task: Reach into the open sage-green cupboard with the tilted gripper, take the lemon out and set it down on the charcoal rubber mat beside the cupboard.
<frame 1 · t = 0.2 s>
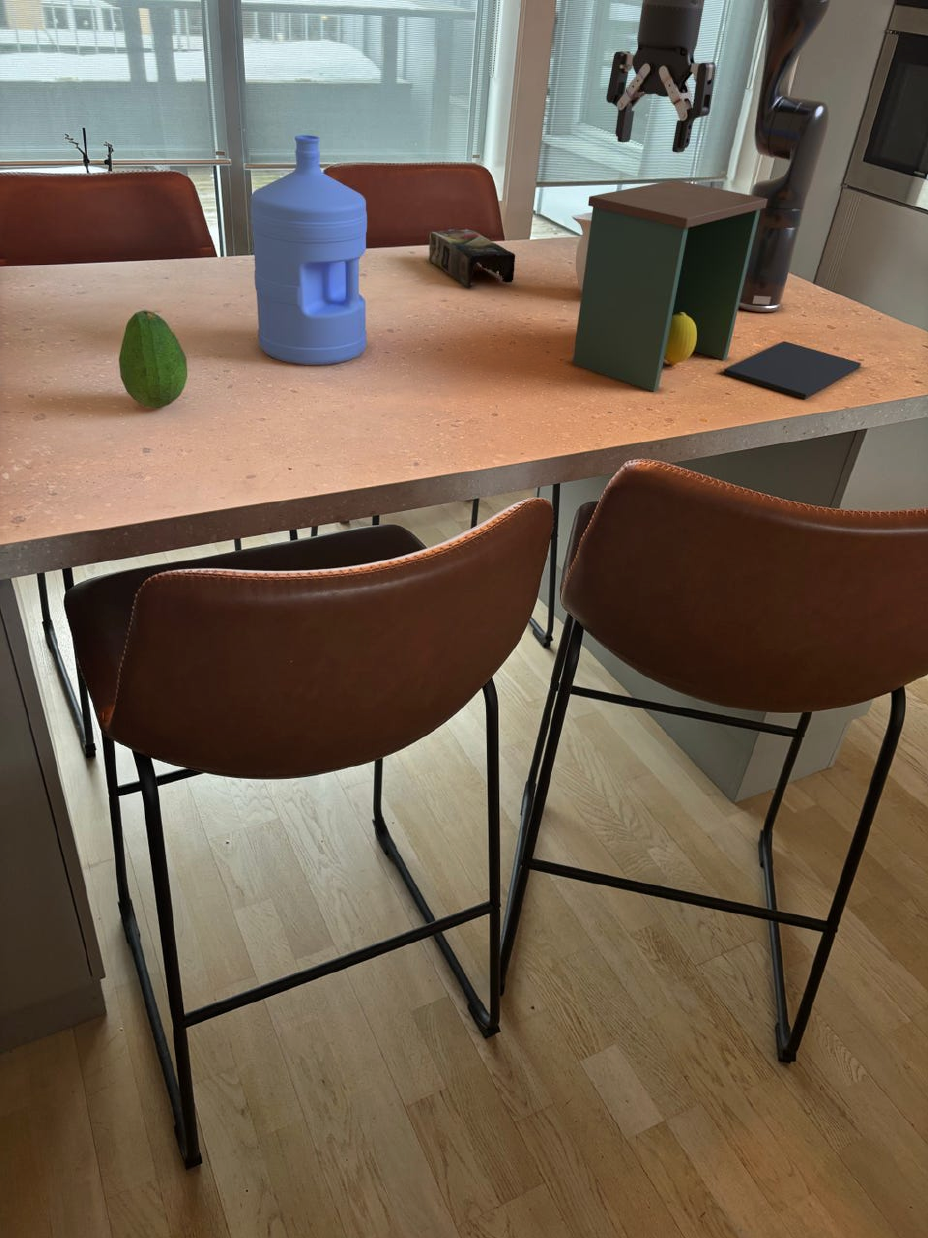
hand: (650, 146, 127), 29 cm above the kitchen island, tool pointing down, fingers open, 8 cm apart
water jug: (313, 349, 140), on the kitchen island
lemon: (672, 366, 143), on the kitchen island
pitcher: (606, 297, 171), on the kitchen island
avocado: (158, 407, 119), on the kitchen island
mat: (793, 370, 145), on the kitchen island
dark printed box: (469, 273, 179), on the kitchen island
cupboard: (654, 362, 144), on the kitchen island
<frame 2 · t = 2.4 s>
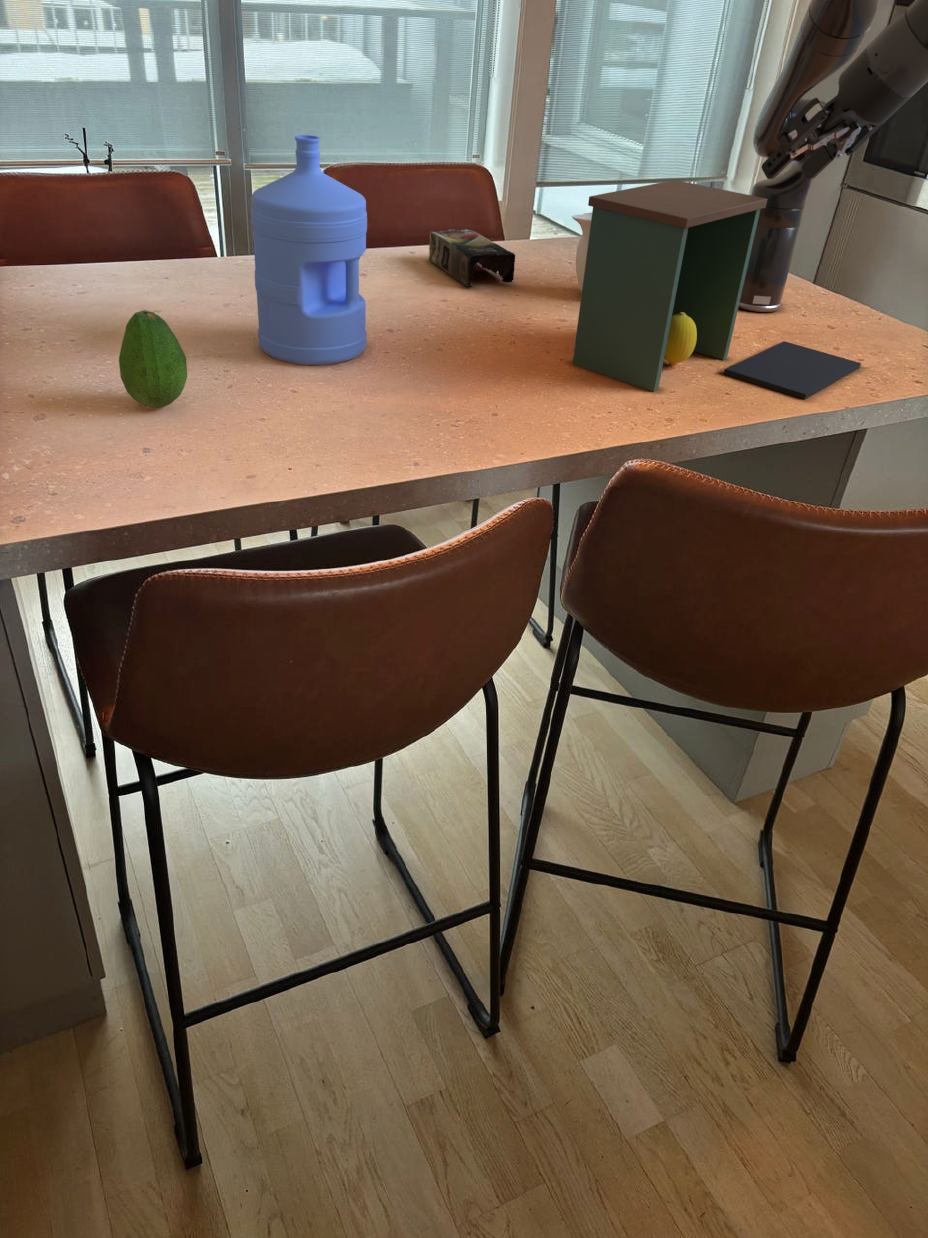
hand: (786, 173, 120), 29 cm above the kitchen island, tool tilted 40°, fingers open, 8 cm apart
nothing on the kitchen island moved.
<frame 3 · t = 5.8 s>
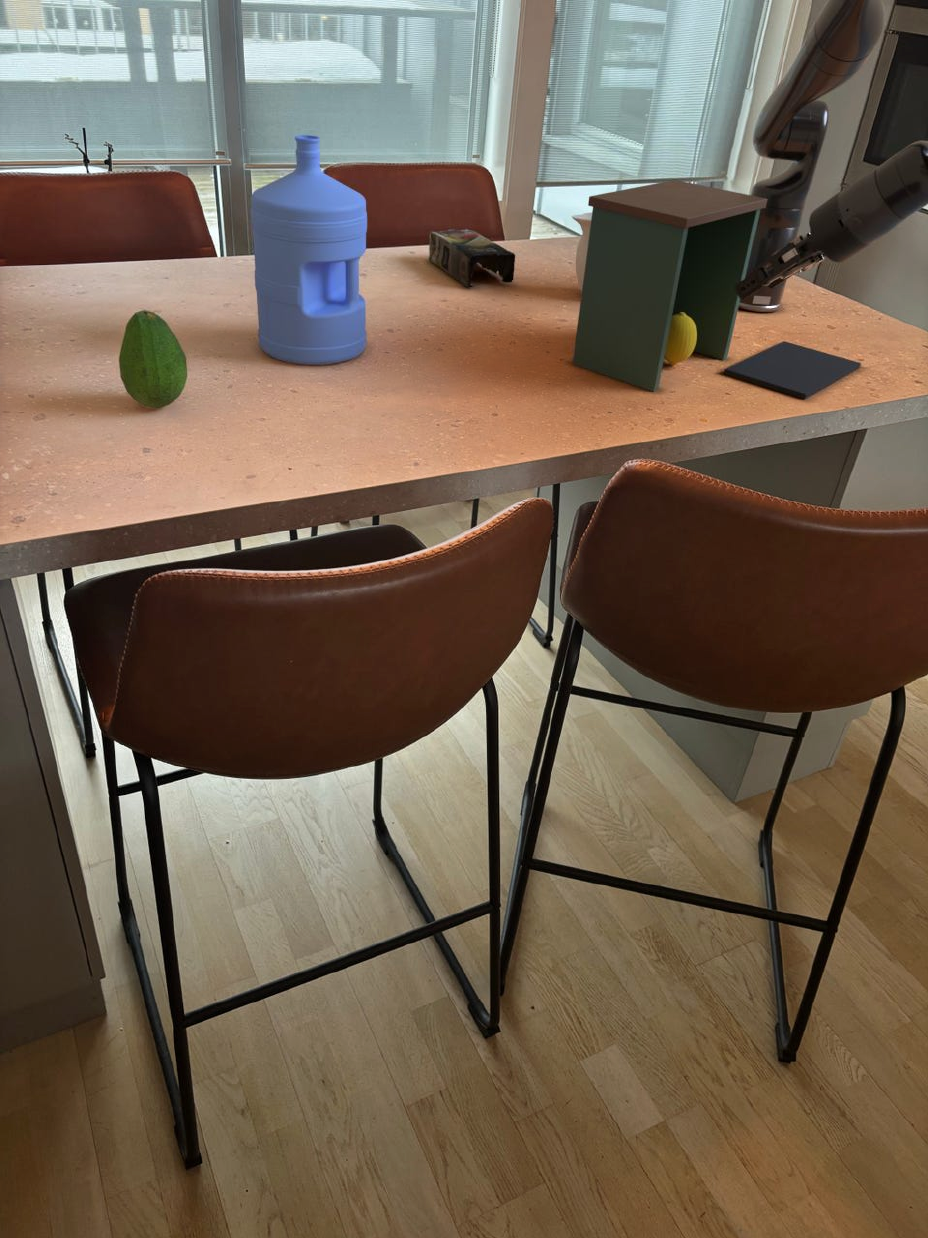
hand: (753, 287, 130), 14 cm above the kitchen island, tool tilted 45°, fingers open, 8 cm apart
nothing on the kitchen island moved.
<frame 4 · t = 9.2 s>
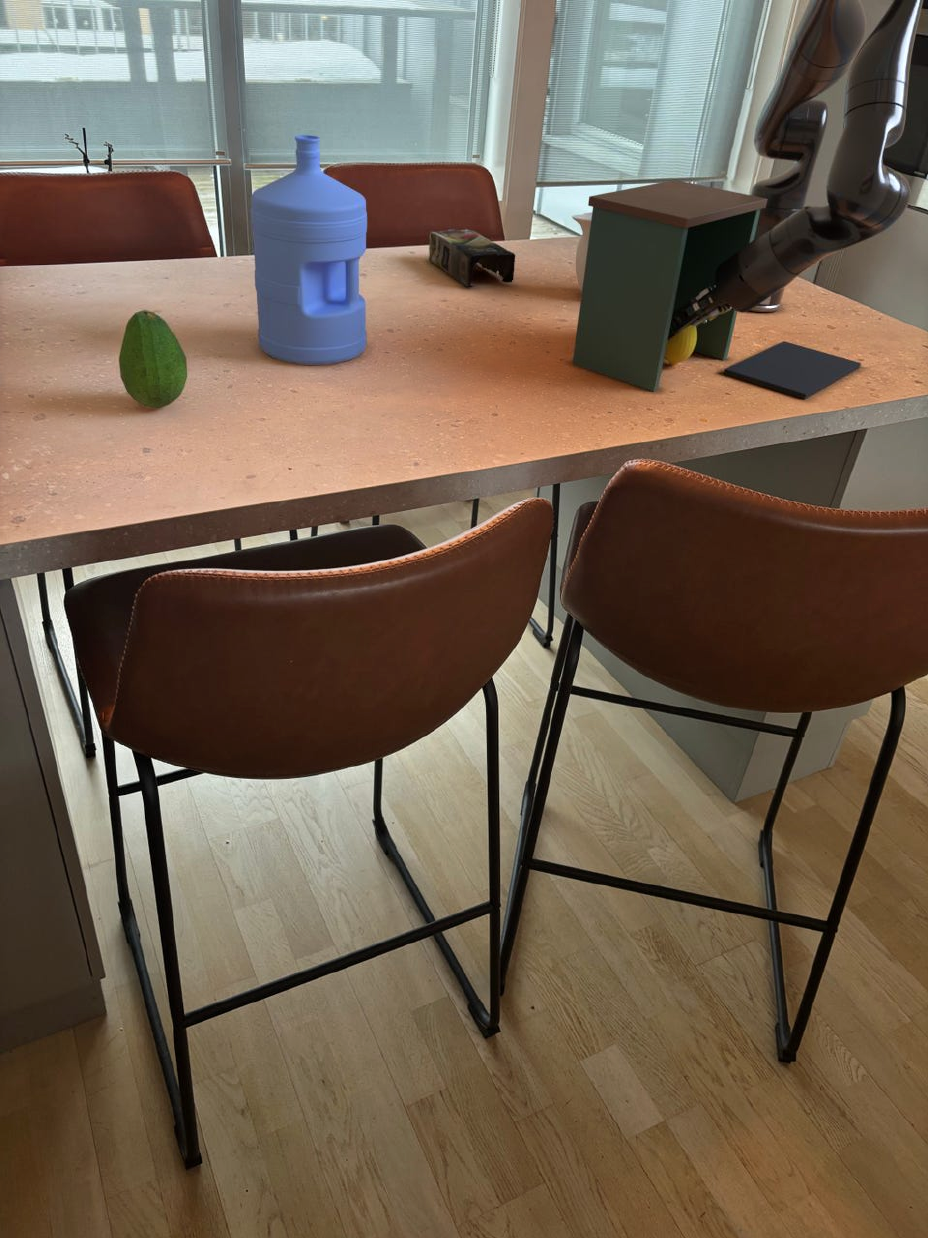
hand: (667, 334, 142), 4 cm above the kitchen island, tool tilted 45°, fingers closed on lemon, 5 cm apart
lemon: (672, 366, 143), on the kitchen island, touching gripper
everything else where it was.
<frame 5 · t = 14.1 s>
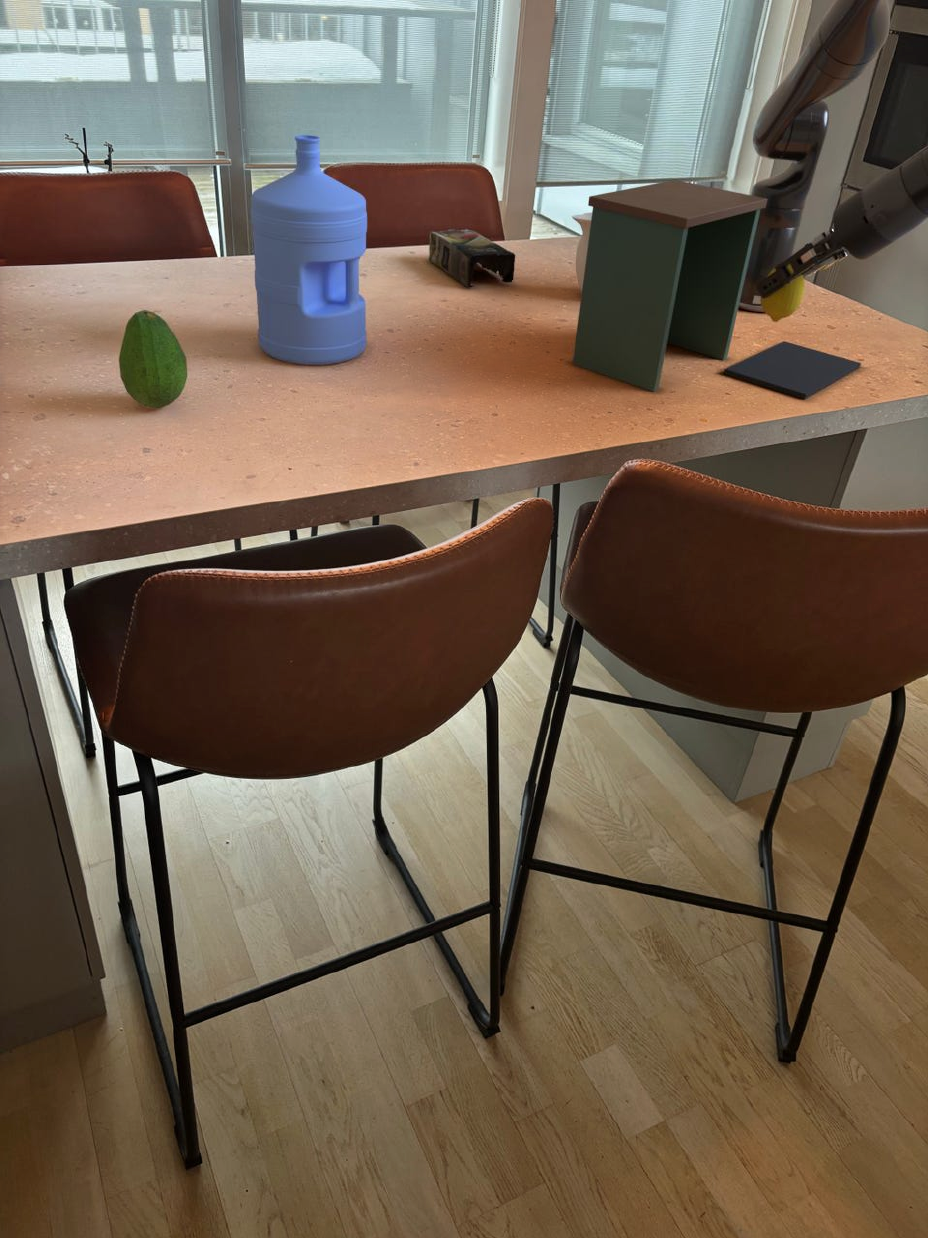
hand: (770, 287, 130), 14 cm above the kitchen island, tool tilted 45°, fingers closed on lemon, 5 cm apart
lemon: (774, 323, 131), point 10 cm above the kitchen island, touching gripper
everything else where it was.
when the fingers open (5 cm above the kitchen island, at t = 19.2 s): lemon stays where it is, resting on mat.
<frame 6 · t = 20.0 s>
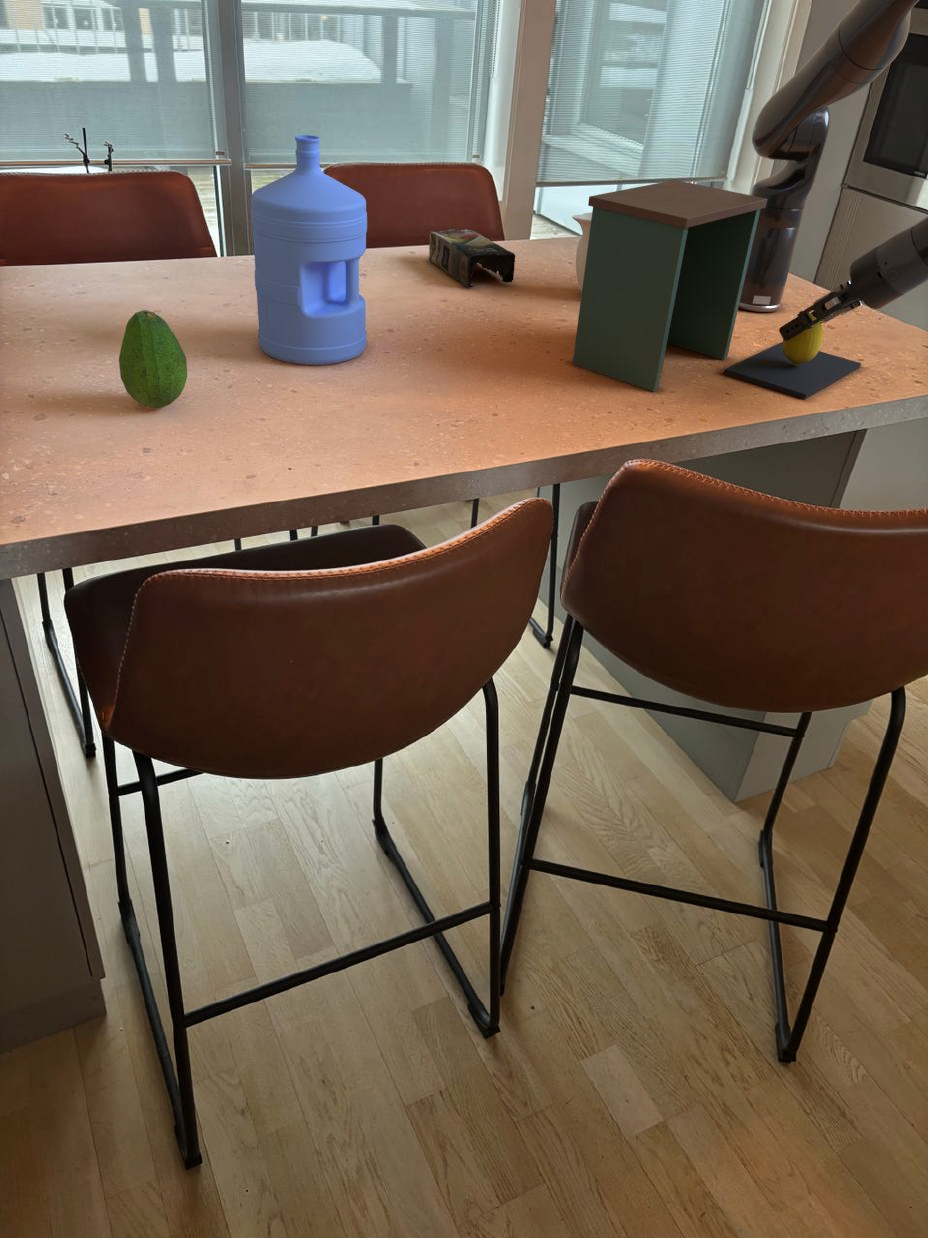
hand: (795, 329, 142), 6 cm above the kitchen island, tool tilted 45°, fingers open, 8 cm apart
lemon: (795, 367, 144), point 1 cm above the kitchen island, touching mat
everything else where it was.
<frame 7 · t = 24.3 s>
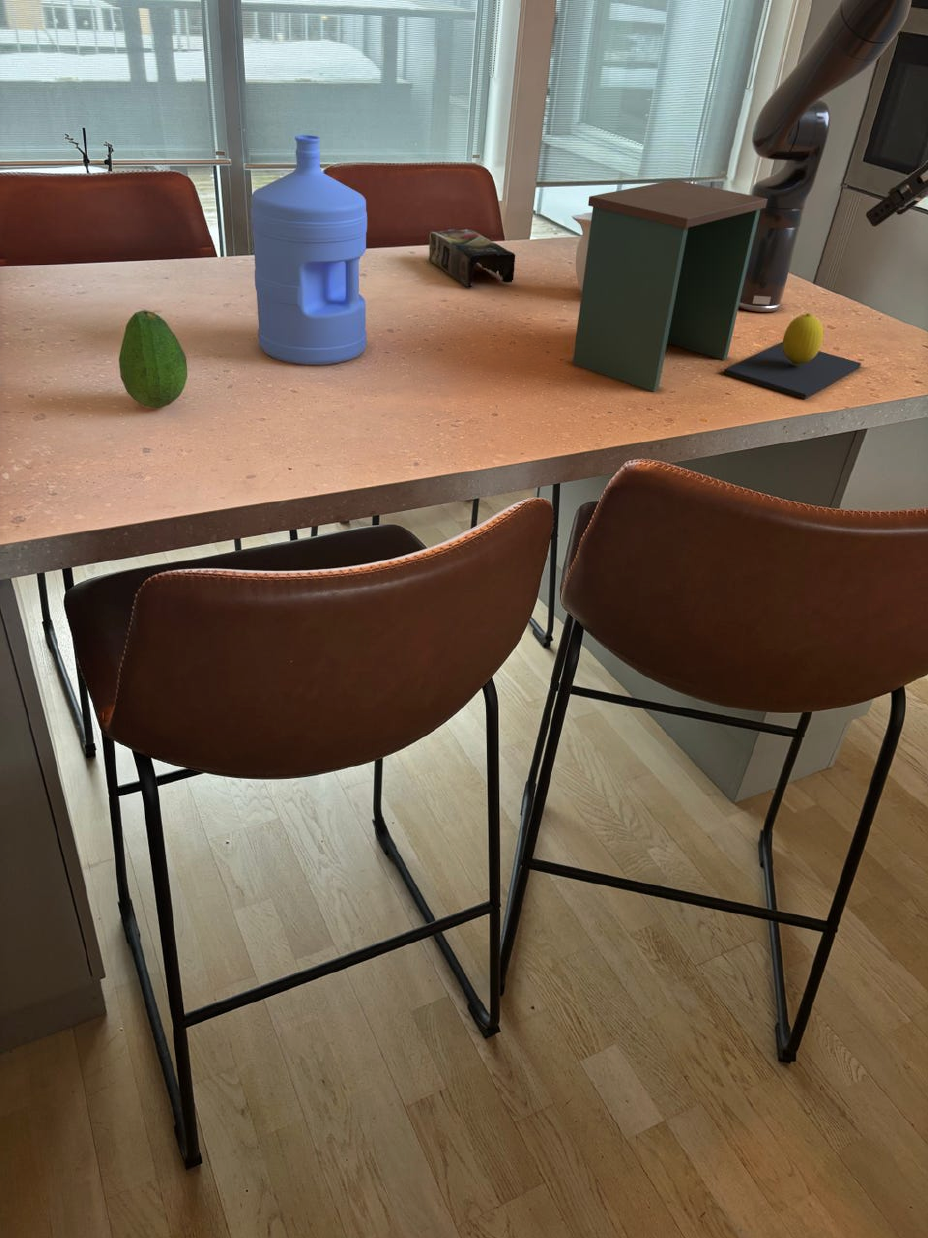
hand: (882, 214, 127), 24 cm above the kitchen island, tool tilted 40°, fingers open, 8 cm apart
nothing on the kitchen island moved.
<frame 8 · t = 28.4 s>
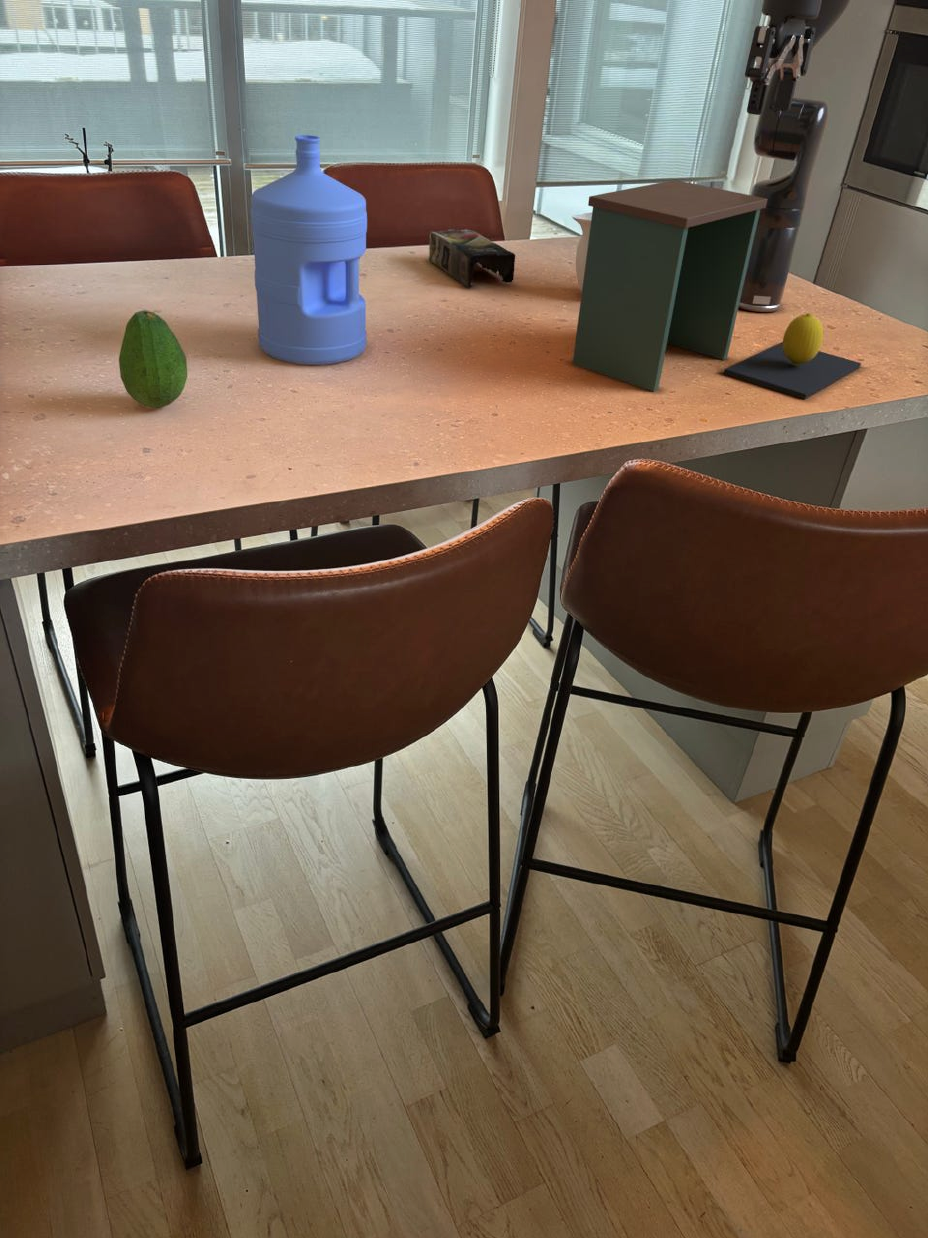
hand: (768, 112, 135), 33 cm above the kitchen island, tool pointing down, fingers open, 8 cm apart
nothing on the kitchen island moved.
at the end: lemon inside the target area on the mat (0.2 cm from its centre), point 0.6 cm above the mat's base; the gripper is holding nothing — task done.
